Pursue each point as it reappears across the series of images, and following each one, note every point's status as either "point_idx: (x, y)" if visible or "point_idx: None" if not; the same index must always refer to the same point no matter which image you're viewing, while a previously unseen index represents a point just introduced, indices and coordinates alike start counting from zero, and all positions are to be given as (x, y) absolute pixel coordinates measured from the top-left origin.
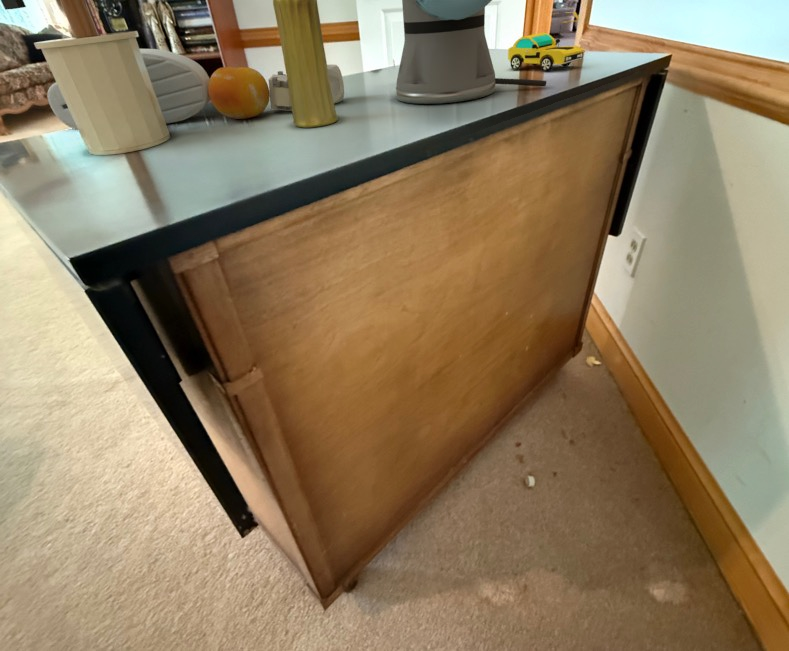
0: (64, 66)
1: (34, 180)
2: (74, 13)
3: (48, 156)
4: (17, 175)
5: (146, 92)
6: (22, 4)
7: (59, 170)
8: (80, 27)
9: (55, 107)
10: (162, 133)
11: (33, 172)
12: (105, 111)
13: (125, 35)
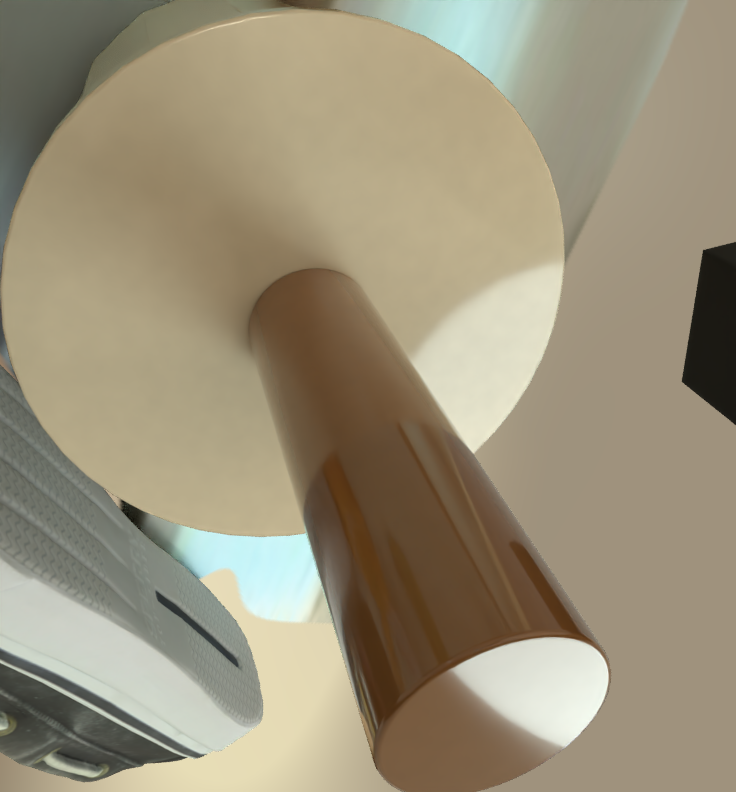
0: None
1: (614, 27)
2: (386, 331)
3: None
4: (588, 165)
5: (155, 29)
6: (726, 249)
7: (527, 66)
8: (364, 297)
9: (253, 677)
10: (143, 14)
11: (559, 145)
12: None
13: (183, 31)
